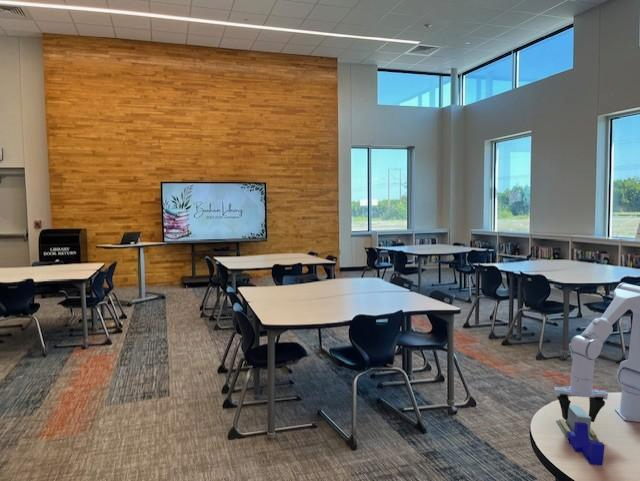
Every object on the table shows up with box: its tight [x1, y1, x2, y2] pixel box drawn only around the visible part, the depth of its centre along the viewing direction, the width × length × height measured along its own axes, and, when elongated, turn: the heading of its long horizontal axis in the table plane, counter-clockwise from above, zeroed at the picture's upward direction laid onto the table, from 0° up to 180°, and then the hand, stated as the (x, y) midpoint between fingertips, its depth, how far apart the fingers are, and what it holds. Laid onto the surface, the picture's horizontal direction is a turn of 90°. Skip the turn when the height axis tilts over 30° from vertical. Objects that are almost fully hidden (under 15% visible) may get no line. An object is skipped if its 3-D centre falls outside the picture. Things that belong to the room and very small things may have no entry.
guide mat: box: [555, 419, 600, 442], centre depth 143 cm, size 9×10×1 cm
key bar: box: [565, 404, 592, 436], centre depth 142 cm, size 8×4×6 cm, turn 174°
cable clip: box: [567, 422, 606, 467], centre depth 131 cm, size 12×4×6 cm, turn 172°
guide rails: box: [558, 418, 598, 439], centre depth 142 cm, size 8×8×1 cm
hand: (578, 419), depth 142 cm, fingers open, 7 cm apart
